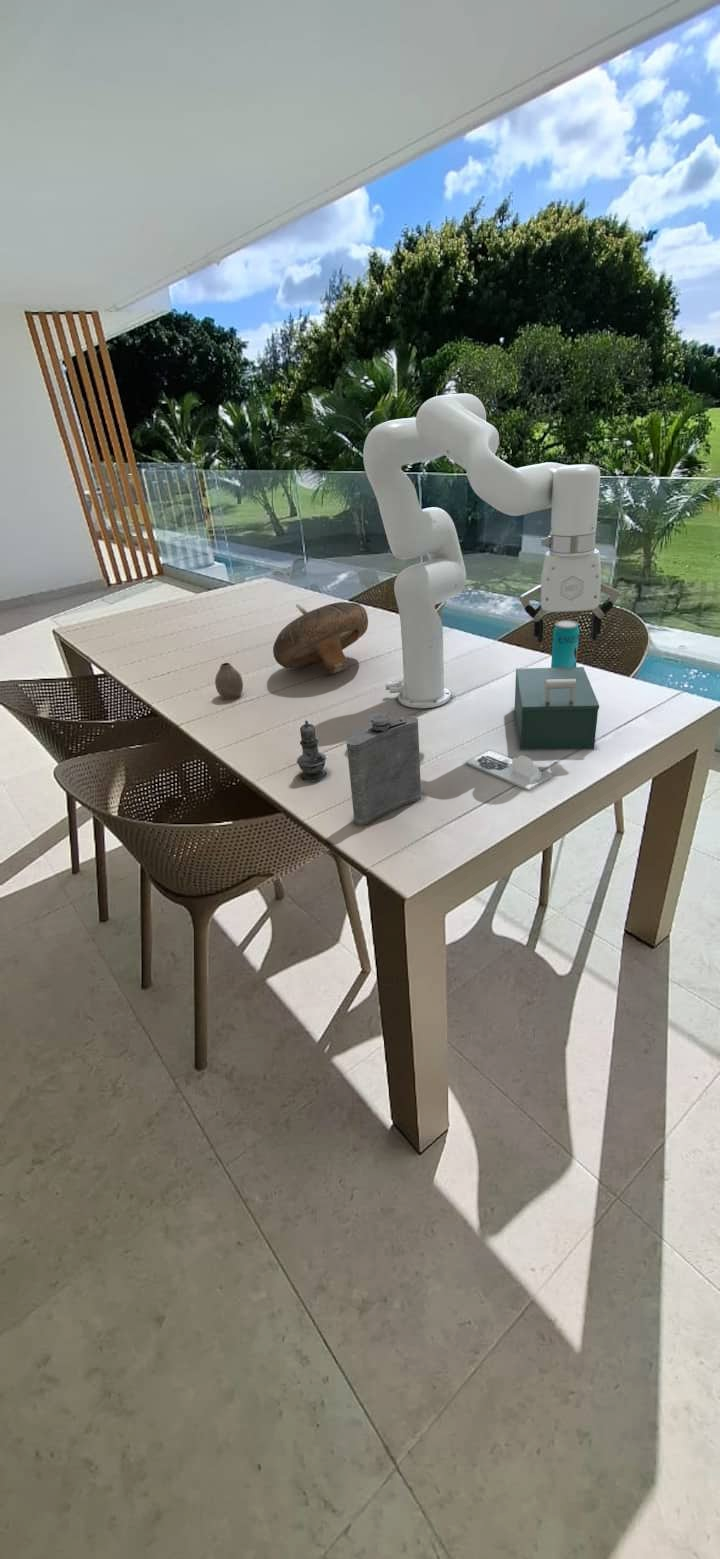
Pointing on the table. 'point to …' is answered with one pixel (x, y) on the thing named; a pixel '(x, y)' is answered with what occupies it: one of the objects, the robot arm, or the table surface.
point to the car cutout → (511, 769)
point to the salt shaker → (311, 755)
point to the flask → (384, 767)
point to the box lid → (555, 689)
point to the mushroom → (321, 636)
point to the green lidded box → (555, 727)
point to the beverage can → (565, 644)
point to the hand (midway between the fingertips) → (566, 639)
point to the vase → (228, 682)
